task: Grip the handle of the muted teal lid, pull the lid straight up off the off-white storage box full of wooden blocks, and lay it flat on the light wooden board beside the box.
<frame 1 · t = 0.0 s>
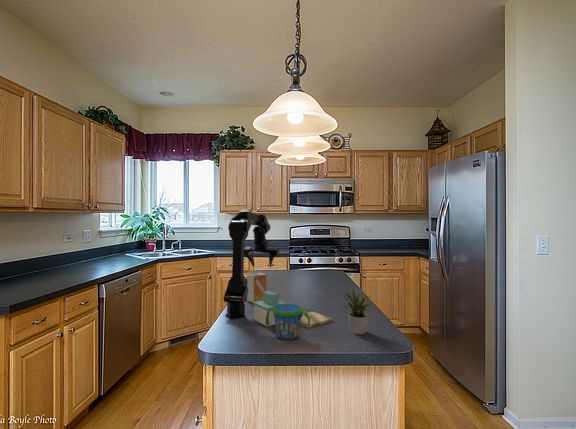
hand: (262, 266, 171), 15 cm above the countertop, tool pointing down, fingers open, 9 cm apart
lid: (270, 307, 132), point 5 cm above the countertop, touching storage box
storage box: (270, 320, 132), on the countertop
wooden board: (310, 320, 133), on the countertop
snack cup: (287, 337, 115), on the countertop
small box: (256, 301, 163), on the countertop
house plant: (354, 331, 120), on the countertop
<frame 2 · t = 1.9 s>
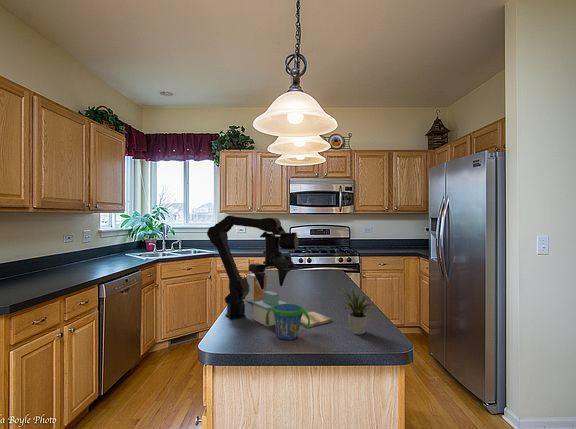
hand: (271, 287, 133), 13 cm above the countertop, tool pointing down, fingers open, 9 cm apart
nothing on the countertop moved.
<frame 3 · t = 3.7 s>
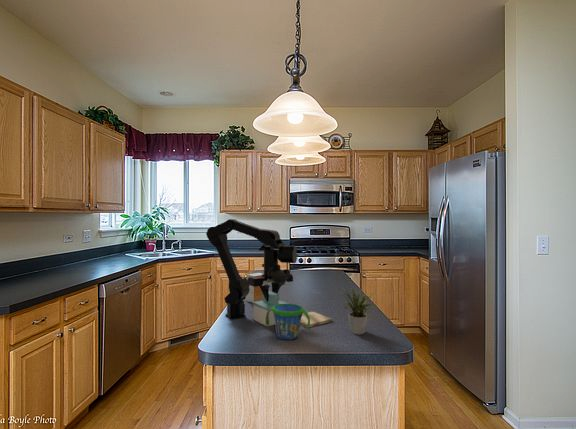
hand: (270, 300, 132), 8 cm above the countertop, tool pointing down, fingers closed on lid, 3 cm apart
lid: (270, 307, 132), point 5 cm above the countertop, touching gripper, storage box
everything else where it was.
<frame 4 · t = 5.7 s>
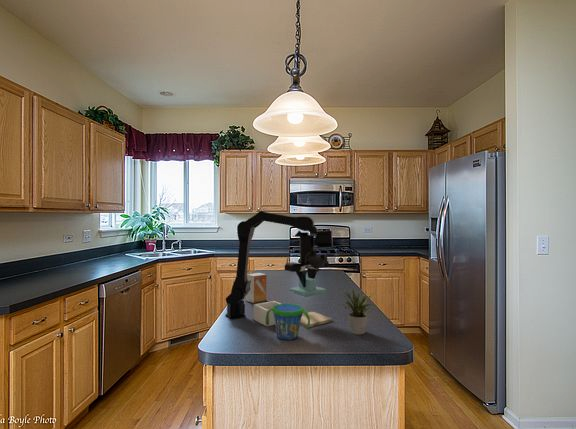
hand: (307, 286, 133), 14 cm above the countertop, tool pointing down, fingers closed on lid, 3 cm apart
lid: (307, 293, 132), point 11 cm above the countertop, touching gripper
everything else where it was.
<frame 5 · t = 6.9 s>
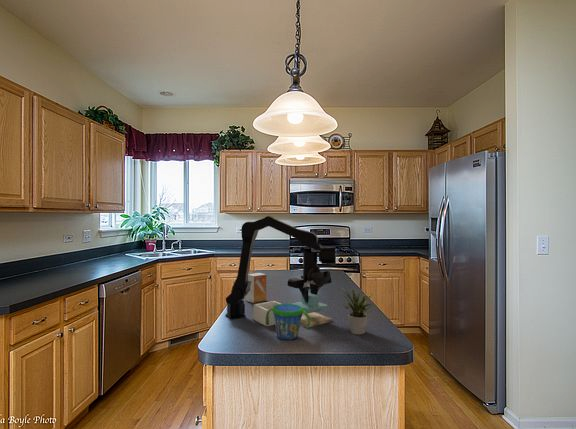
hand: (309, 302, 133), 7 cm above the countertop, tool pointing down, fingers closed on lid, 3 cm apart
lid: (309, 309, 133), point 4 cm above the countertop, touching gripper
everything else where it was.
when the fingers open (5 cm above the countertop, at t = 7.9 s): lid drops 1 cm, resting on wooden board.
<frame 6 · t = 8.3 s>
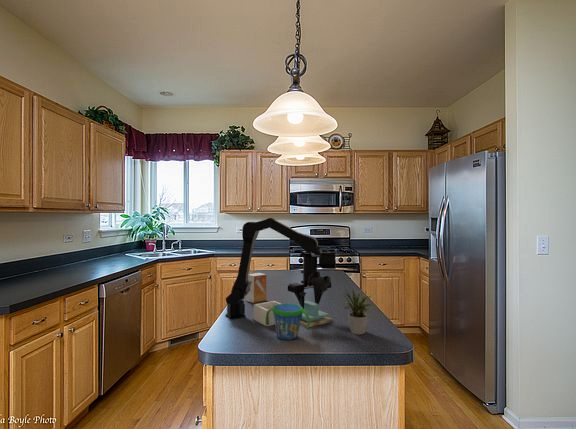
hand: (310, 307, 133), 5 cm above the countertop, tool pointing down, fingers open, 7 cm apart
lid: (309, 317, 133), point 1 cm above the countertop, touching wooden board
everything else where it was.
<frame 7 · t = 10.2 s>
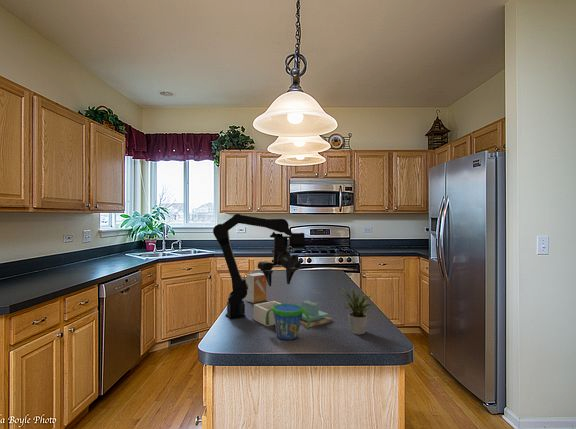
hand: (279, 285, 140), 13 cm above the countertop, tool pointing down, fingers open, 9 cm apart
nothing on the countertop moved.
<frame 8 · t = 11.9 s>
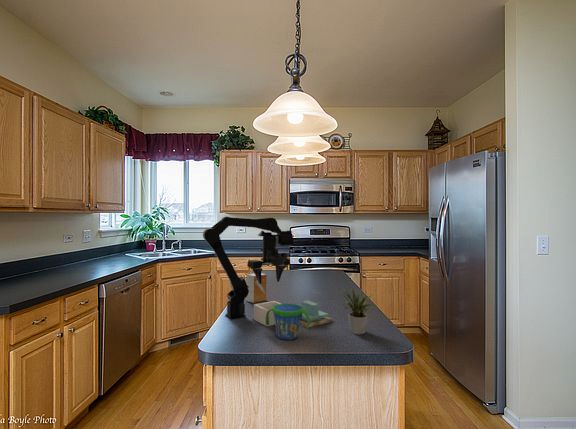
hand: (269, 282, 143), 13 cm above the countertop, tool pointing down, fingers open, 9 cm apart
nothing on the countertop moved.
at the end: lid inside the target area on the wooden board (0.1 cm from its centre), point 1.0 cm above the wooden board's base; lid tilted 0°; the gripper is holding nothing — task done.
